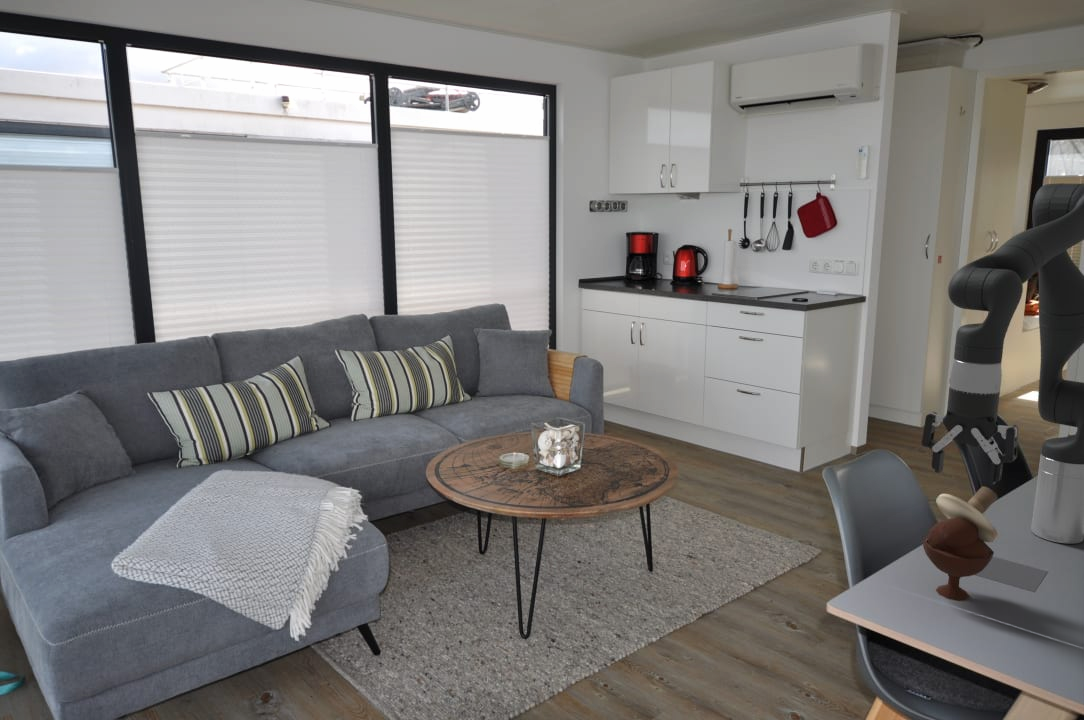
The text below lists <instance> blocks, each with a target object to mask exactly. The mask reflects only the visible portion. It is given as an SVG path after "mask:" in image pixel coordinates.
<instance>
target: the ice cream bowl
mask: <svg viewBox="0 0 1084 720" xmlns="http://www.w3.org/2000/svg"><path fill="white" fill-rule="evenodd" d="M927 534H928V535H927V536H925V537H924V538H923V539H922V547H923V549H924V552H925V555H926V557H928V559H929V560H930V562H931V563H932V564H933V565H934V566H935V568H936V569H938V570H939V571H941V572H942V573H945V574H947V576H948V580H947V584H943V585H939V586H938V587H937V588H936V589H935V591H936V593H937V594H938V595H939V596H941V597H943V598H945V599H948V600H952V601H957V602H959V601H967V600H968V599H969V598H970V594H969V593H968V592H967V591H966V590H964V588H962V587H960V580H961V578H965V577H966V578H967V577H971V576H976V575H975V574H977V573H979V572H981V571H982V570H983V569H984V568H985V567H986V566H987V565H988V563H989V562H990V561H991V559H992V556H993V557H994V554H995V552H994V551H993V549H992V548H990V547H989V545H988V544H987V542H984V541H983V540H981V539H980V538H978V537H979V535H978V529H977V527H976V526H975V525H974V524H973V523H971V522H970V521H968V520H967V519H964V518H961V517H956V518H950V519H948V518H947V520H946V519H945V520H941V521H939V522H937V523H936V524H933V525H932V527H931V528H930V530H929V531H928V533H927Z"/></svg>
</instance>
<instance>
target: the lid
mask: <svg viewBox="0 0 1084 720" xmlns="http://www.w3.org/2000/svg"><path fill="white" fill-rule="evenodd" d="M998 497H999V496H998V495H997V493H996V492H995V491H994V490H993V489H991V488H989V487H987V486H981V487H980V488H979V489H978V490H977V491H976V492H975V493H974V495H973V496H972V497H971V498H969V500H968V501H965V500H963V499H962V498H960V497H958V496H954V495H953V494H949V493H941V494H940V495H938V496H937V497H936V499H935V500H936V505H937V507H938V509H939V510H940V511H941V513H942V514H943V515H944V516H945V517H946V518H947V520H948V519H950V518H956V517H961V518H964V519H967V520H968V521H970V522H971V523H973V524H974V525H975V526H976V527H977V529H978V535H979V537H978V538H980V539H981V540H983V541H984V542H985V543H993V542H995V540H996V539H997V538H998V537H999V536H998V535H999V534H998V531H997V529H996V527H995V526H994V524H993V523H992V522H991V521H990V520H989V519H988V518H987V517H986V516H985V515H984V513H985V512H986V511H988V509H989V508H990V507H991V505H993V504H994V502H996V500H997V499H998Z"/></svg>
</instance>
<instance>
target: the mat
mask: <svg viewBox="0 0 1084 720" xmlns="http://www.w3.org/2000/svg"><path fill="white" fill-rule="evenodd" d="M1048 573H1049V571H1048V570H1044V569H1040V568H1037V567H1033V566H1030V565H1025V564H1022V563H1019V562H1015V561H1011V560H1007V559H1004V558H1002V557H1001V558H1000V557H997V556H994V555H993V556H992V559H991V561H990V562H989V563H988V565H987V566H986V567H985V568H984V569H983V570H982V571H981V572H979V573H977V574H975V575H974V576H976V577H977V576H978V577H980V578H983V579H987V580H991V581H995V582H998V583H1001V584H1005V585H1008V586H1011V587H1015V588H1019V589H1021V590H1025V591H1029V592H1032V593H1035V592H1036V591H1037V589H1038V587H1040V584H1041V583H1042V581H1043V580H1044V578H1045V577H1046V575H1048Z"/></svg>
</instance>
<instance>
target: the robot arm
mask: <svg viewBox="0 0 1084 720" xmlns="http://www.w3.org/2000/svg"><path fill="white" fill-rule="evenodd" d="M1031 210H1032V214H1031V215H1032V218H1031V219H1032V227H1031V228H1029V229H1026V230H1024V231H1021V232H1019V233H1017V234H1015V235H1013V236H1011V238H1009V239H1008V240H1006V241H1005V242H1004V243H1003V244H1002V245H1001V246H1000V247H999V248H997V249H996V250H995V251H994V252H992V253H991V254H987V255H984V256H982V257H979V258H978V259H976V260H973V261H971V262H969V263H967V264H965V265H963V266H962V267H960V268H959V269H958V270H957V271H956V272H955V274H953V276H952V277H951V279H950V281H949V284H948V288H947V294H948V298H949V300H950V301H951V303H952V304H953V305H954V306H956V307H957V308H960V309H964V310H972V311H973V310H974V311H983V312H988V314H987V315H986V317H985V319H984V320H983V322H980V323H979V322H978V323H968V324H964V325H961V326H960V327H958V329H957V331H956V336H955V344H954V352H953V353H954V354H953V360H952V361H953V362H952V366H951V371H950V375H949V376H950V377H949V381H948V384H949V386H948V387H949V388H948V397H947V406H946V407H947V408H946V414H945V415H941V414H938V413H937V412H936V411H932V412H929V413H927V414H926V416H925V420H924V425H923V426H924V427H923V433H922V439H921V445H922V446H923V447H925V448H926V447H927V448H929V449H930V450H931V451H932V459H931V468H932V469H933V470H934V473H937V474H940V473H942V472H943V469H944V461H945V450H944V448H945V447H946V446H948V445H949V444H950V443H951V442H952V441H954V442H956V444H960V445H968V446H970V447H975V448H976V447H977V448H978V447H981V448H982V450H983V451H984V453H986V454H987V456H988V457H989V458H990V460H991V461H992V462H990V468H989V477H988V485H992V486H993V485H995V484H996V483H998V482H1000V481H1001V479H1002V475H1003V474H1002V473H1003V468H1004V467H1003V465H1004V464H1007V463H1008V464H1011V463H1013V462H1014V461H1015V460H1016V459H1017V458H1018V441H1019V440H1018V439H1019V427H1018V426H1017V425H1016V424H1012V425H1010V426H1009V425H1000V424H999V422H998V411H999V405H1000V404H999V402H1000V396H1001V395H1000V394H1001V386H1002V385H1001V384H1002V376H1003V375H1002V372H1003V371H1002V362H1003V361H1002V359H1003V354H1004V352H1003V351H1004V344H1005V343H1004V342H1005V338H1006V335H1007V332H1008V329H1009V326H1010V324H1011V321H1012V319H1013V317H1014V315H1015V312H1016V310H1017V309H1018V306H1019V304H1020V301H1021V299H1022V296H1023V293H1024V292H1023V290H1024V288H1023V287H1024V286H1023V284H1025V283H1026V282H1027V281H1029V280H1030V279H1031V278H1032V277H1033V276H1034V275H1035V274H1036V273H1037V272H1038V326H1039V328H1038V329H1039V343H1040V344H1039V345H1040V368H1039V383H1038V394H1037V395H1038V396H1037V397H1038V398H1037V406H1038V408H1037V409H1038V413H1039V417H1040V418H1041V420H1044V421H1045V422H1049V423H1052V424H1057V425H1062V426H1068V427H1073V428H1077V430H1076V432H1075V434H1072V435H1069V436H1060V437H1052V438H1048V439H1045V440H1044V441H1042V443H1041V449H1040V458H1039V465H1038V471H1037V472H1038V474H1037V482H1036V488H1035V496H1034V503H1033V504H1034V505H1033V513H1032V520H1031V527H1030V531H1031V533H1032V534H1034V535H1036V537H1039V538H1041V539H1044V540H1046V541H1050V542H1055V543H1059V544H1067V545H1068V544H1070V545H1071V544H1080V543H1081V542H1083V541H1084V382H1082V381H1075V380H1068V379H1065V378H1063V369H1064V367H1065V365H1066V364H1067V363H1068V362H1069V360H1070V358H1071V357H1072V356H1073V355H1074V353H1076V352H1077V350H1078V349H1080V348H1081V347H1082V346H1083V344H1084V274H1083V273H1082V271H1081V270H1080V269H1079V267H1078V266H1077V265H1076V264H1075V263H1074V261H1073V260H1072V258H1071V256H1070V255H1069V253H1068V251H1067V250H1069V249H1070V248H1072V247H1074V246H1076V245H1078V244H1080V243H1081V242H1082V241H1084V183H1061V182H1060V183H1059V182H1058V183H1047V184H1044V185H1043V186H1040V188H1039V189H1037V191H1036V193H1035V196H1034V199H1033V203H1032V209H1031ZM941 423H942V424H943V426H944V428H945V429H946V430H947V432H948V433H946V434H945V435H944V436H943V437H942V438H941V439H940V440H939V441H937V440H935V439H934V438H935V434H936V433H935V432H936V427H939V426H940V424H941ZM997 433H1000V434H1001V437H1002V439H1004V440H1005V449H1004V453H1002V451H1001V450H1000V448H999V446H998V443H997V442H996V441H995V439H994V437H993V436H994V435H996V434H997Z"/></svg>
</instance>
